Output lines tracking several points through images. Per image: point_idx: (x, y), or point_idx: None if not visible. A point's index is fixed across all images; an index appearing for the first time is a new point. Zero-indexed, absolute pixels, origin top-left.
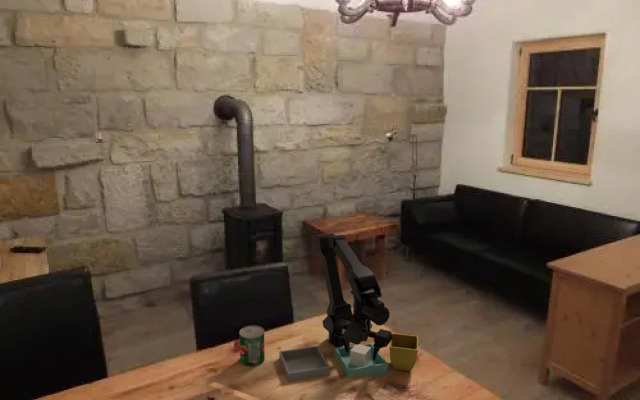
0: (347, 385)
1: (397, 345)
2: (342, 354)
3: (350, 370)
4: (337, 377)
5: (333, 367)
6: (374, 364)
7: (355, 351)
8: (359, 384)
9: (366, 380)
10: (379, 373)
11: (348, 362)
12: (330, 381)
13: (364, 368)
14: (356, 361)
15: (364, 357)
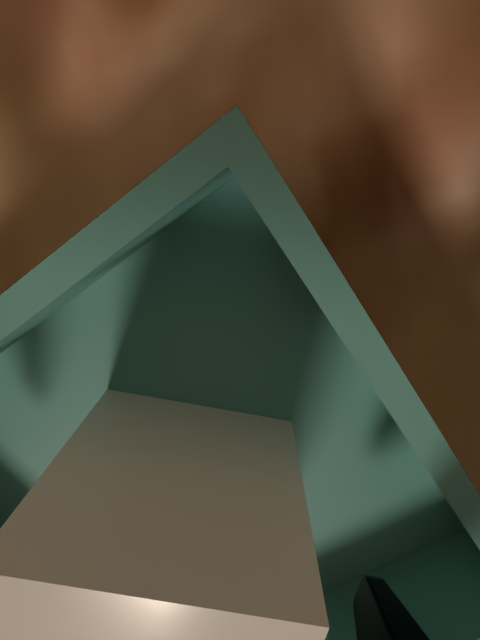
0: (224, 19)
1: None
2: (410, 560)
3: (204, 133)
4: (391, 163)
5: (467, 349)
6: None
7: (206, 619)
8: (86, 107)
9: (40, 225)
10: None
11: (316, 453)
12: (474, 27)
13: (3, 294)
14: (200, 450)
15: (21, 511)
